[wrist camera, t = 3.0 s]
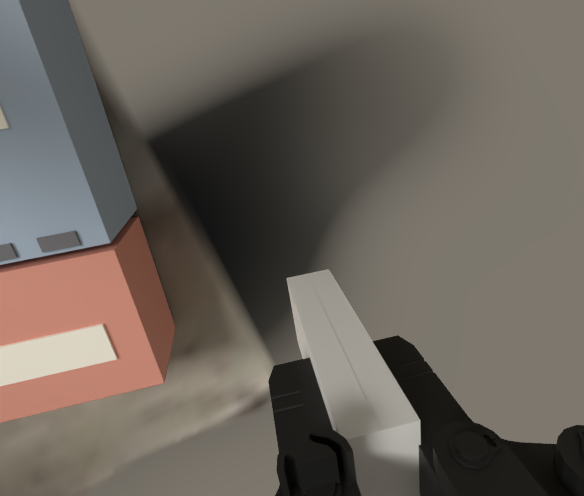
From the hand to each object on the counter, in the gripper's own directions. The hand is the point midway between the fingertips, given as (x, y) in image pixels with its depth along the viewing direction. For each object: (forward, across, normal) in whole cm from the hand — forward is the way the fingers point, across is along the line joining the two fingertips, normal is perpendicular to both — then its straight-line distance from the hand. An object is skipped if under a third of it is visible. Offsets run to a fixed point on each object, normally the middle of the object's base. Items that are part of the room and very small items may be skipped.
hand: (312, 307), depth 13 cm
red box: (+6, -11, 0) cm, 12 cm away
